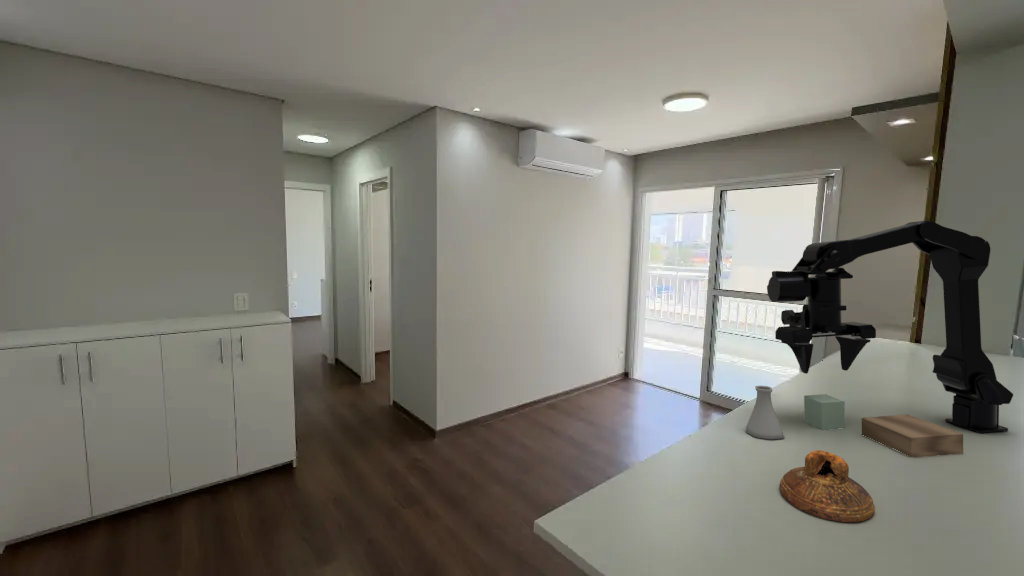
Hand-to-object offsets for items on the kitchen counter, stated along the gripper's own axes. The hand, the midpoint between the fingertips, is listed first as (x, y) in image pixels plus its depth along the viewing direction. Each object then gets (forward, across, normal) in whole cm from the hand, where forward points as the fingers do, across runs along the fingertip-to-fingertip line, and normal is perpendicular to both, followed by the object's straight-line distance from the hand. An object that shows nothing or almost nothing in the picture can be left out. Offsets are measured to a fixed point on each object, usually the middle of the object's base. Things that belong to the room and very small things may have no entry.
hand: (824, 371), depth 89 cm
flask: (+12, +15, +1) cm, 19 cm away
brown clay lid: (+12, +23, +25) cm, 36 cm away
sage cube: (+12, 0, 0) cm, 12 cm away
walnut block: (+12, -8, +11) cm, 18 cm away
